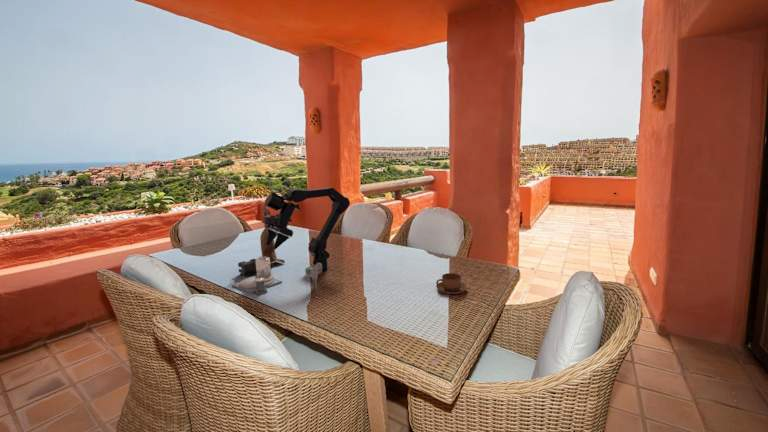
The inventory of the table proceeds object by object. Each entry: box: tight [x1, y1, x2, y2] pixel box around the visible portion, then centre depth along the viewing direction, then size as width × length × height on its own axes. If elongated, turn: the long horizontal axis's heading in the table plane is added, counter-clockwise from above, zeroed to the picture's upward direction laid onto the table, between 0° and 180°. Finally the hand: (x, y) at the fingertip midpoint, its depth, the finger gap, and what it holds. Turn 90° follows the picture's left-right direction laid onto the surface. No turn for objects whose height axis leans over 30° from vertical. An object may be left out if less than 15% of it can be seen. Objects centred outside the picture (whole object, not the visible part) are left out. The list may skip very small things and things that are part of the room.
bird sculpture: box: [259, 204, 286, 264], centre depth 178 cm, size 11×12×32 cm
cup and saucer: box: [435, 272, 467, 295], centre depth 138 cm, size 12×12×6 cm
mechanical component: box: [304, 263, 323, 290], centre depth 144 cm, size 3×10×10 cm, turn 161°
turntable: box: [231, 275, 283, 294], centre depth 152 cm, size 15×15×2 cm
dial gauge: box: [254, 277, 268, 296], centre depth 142 cm, size 4×4×6 cm
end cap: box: [237, 258, 257, 278], centre depth 166 cm, size 10×7×7 cm
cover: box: [254, 255, 275, 282], centre depth 153 cm, size 8×8×10 cm
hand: (270, 246), depth 154 cm, fingers open, 9 cm apart
